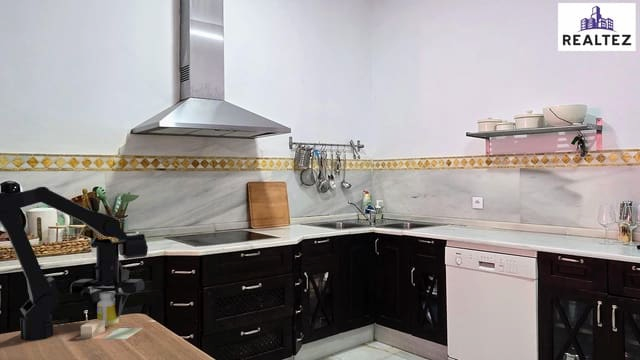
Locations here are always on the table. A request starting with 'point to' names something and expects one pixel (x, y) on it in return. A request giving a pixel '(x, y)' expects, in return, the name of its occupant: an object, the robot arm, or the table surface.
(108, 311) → the supplement bottle
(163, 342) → the table surface
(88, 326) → the beech block
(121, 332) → the sorting board
